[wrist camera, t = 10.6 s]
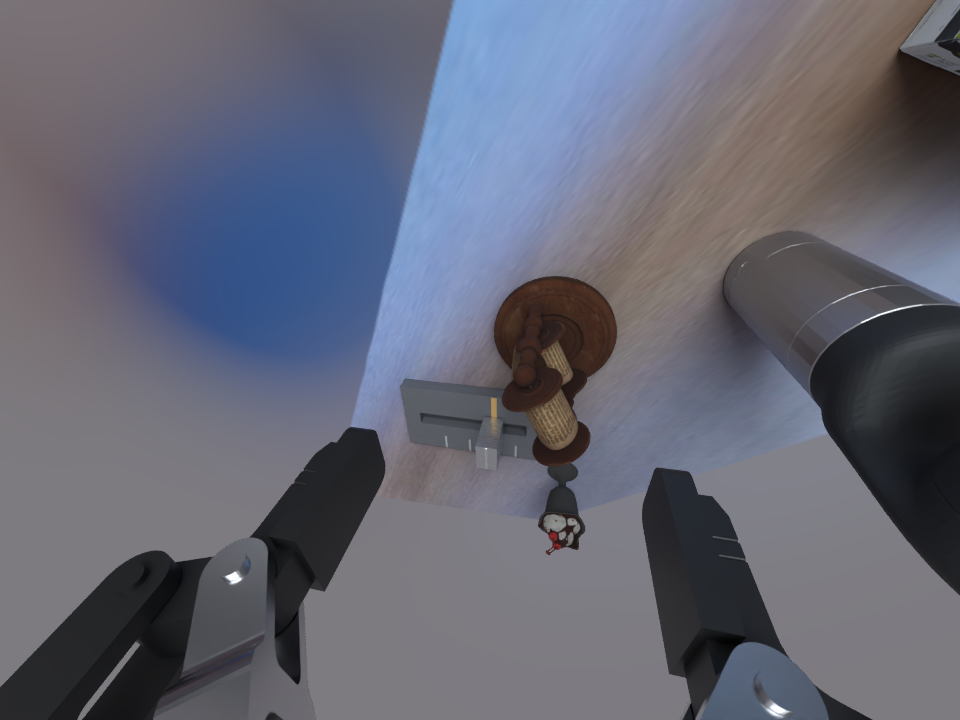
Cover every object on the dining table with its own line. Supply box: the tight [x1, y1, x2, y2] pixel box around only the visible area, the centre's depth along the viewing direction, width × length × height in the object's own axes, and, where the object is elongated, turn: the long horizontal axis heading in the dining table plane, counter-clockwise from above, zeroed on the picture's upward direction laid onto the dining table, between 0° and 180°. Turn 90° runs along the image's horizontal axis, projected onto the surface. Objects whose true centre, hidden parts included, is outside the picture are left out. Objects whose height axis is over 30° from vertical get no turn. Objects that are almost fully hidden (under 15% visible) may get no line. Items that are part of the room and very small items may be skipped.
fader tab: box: [475, 417, 504, 471], centre depth 53 cm, size 3×4×8 cm
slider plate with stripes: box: [400, 379, 537, 460], centre depth 56 cm, size 22×12×2 cm, turn 91°
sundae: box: [538, 463, 585, 555], centre depth 54 cm, size 7×7×15 cm
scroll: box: [494, 276, 617, 467], centre depth 38 cm, size 15×15×20 cm
